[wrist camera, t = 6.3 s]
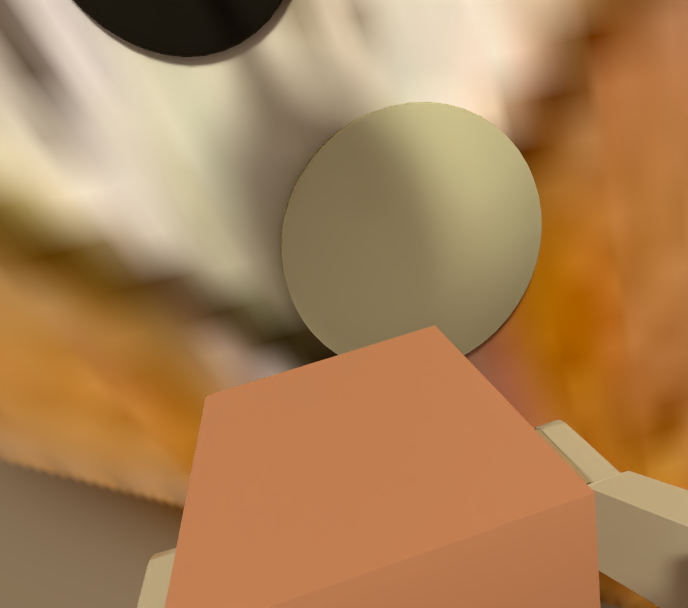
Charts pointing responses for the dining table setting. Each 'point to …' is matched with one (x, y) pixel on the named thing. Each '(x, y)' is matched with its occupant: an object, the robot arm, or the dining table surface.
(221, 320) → the dining table surface
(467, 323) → the tile
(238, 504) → the orange cube
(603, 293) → the dining table surface
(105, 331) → the dining table surface
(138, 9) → the wine glass
